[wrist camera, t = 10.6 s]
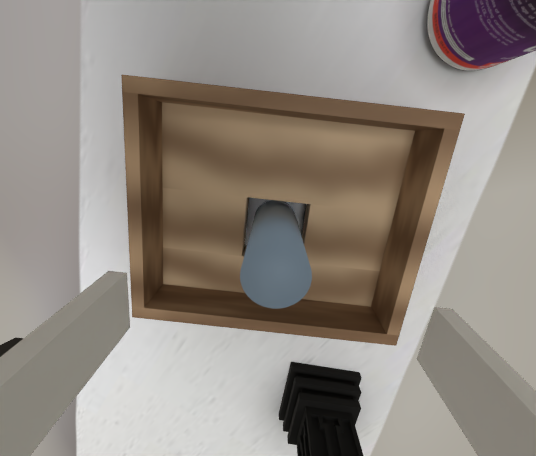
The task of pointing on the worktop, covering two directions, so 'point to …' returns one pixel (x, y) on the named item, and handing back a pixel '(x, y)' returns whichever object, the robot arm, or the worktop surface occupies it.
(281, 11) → the worktop surface
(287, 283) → the peg
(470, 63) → the pill bottle
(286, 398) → the chess piece
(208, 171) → the box
